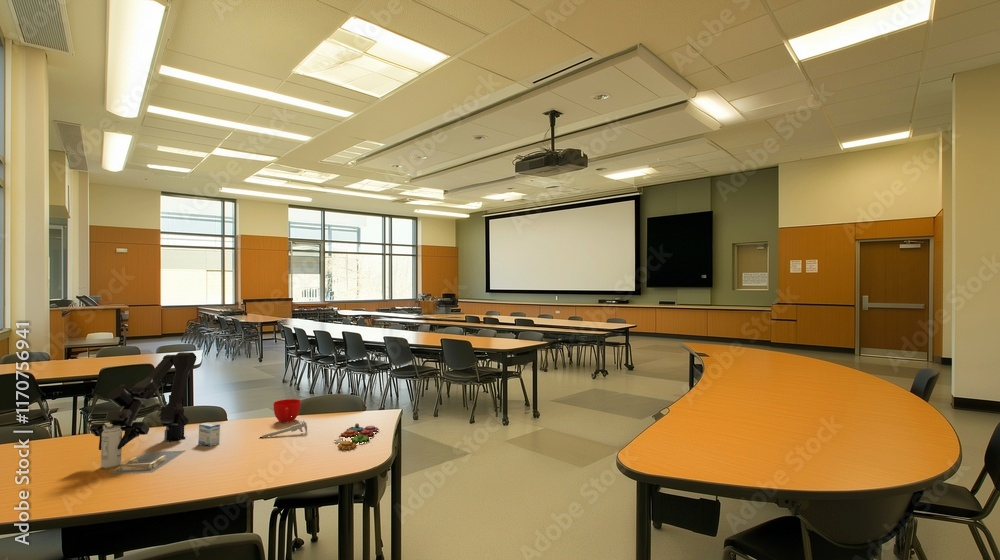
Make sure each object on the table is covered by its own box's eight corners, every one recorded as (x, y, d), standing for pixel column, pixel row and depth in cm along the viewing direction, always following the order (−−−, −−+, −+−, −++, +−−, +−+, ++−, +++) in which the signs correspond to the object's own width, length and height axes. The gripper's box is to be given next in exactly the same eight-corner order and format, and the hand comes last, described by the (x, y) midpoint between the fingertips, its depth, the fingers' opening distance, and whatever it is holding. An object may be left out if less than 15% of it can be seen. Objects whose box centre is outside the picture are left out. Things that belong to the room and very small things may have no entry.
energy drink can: (122, 466, 177) (123, 427, 177) (101, 471, 173) (103, 430, 173) (119, 462, 181) (120, 424, 182) (99, 466, 177) (100, 427, 177)
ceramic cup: (272, 427, 228) (272, 407, 229) (273, 419, 244) (274, 400, 244) (300, 425, 234) (300, 405, 234) (300, 416, 249) (300, 398, 249)
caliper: (307, 432, 221) (307, 419, 222) (307, 433, 220) (307, 420, 220) (259, 438, 213) (259, 424, 213) (259, 439, 212) (259, 425, 212)
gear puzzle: (360, 452, 195) (360, 442, 195) (322, 452, 195) (322, 442, 196) (380, 430, 226) (380, 422, 226) (347, 430, 227) (347, 422, 227)
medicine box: (198, 444, 203) (198, 424, 204) (207, 441, 208) (208, 422, 208) (210, 446, 201) (210, 426, 201) (219, 443, 205) (220, 423, 205)
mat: (147, 452, 192) (147, 452, 192) (186, 451, 195) (186, 450, 195) (107, 475, 169) (107, 474, 169) (152, 473, 171) (152, 472, 171)
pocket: (134, 461, 181) (135, 456, 181) (165, 460, 183) (165, 455, 183) (119, 470, 172) (119, 465, 172) (152, 469, 174) (152, 463, 174)
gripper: (92, 402, 180) (70, 440, 169) (145, 401, 183) (126, 437, 172) (106, 417, 188) (85, 454, 176) (156, 415, 190) (139, 451, 179)
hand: (109, 449), depth 176 cm, fingers closed on energy drink can, 6 cm apart
